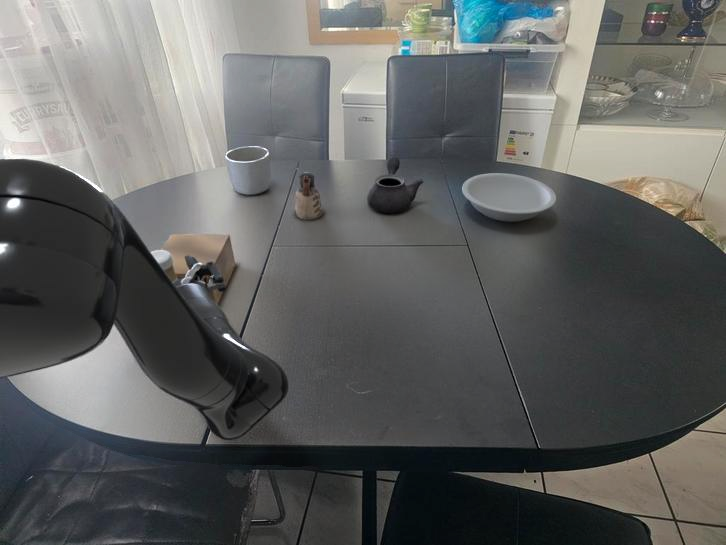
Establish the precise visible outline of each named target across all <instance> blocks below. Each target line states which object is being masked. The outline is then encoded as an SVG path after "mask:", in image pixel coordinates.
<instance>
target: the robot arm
mask: <svg viewBox="0 0 726 545" xmlns="http://www.w3.org/2000/svg"><path fill="white" fill-rule="evenodd" d="M151 252H152V251H150V249H149V248H148V246H147V245H146V244H145V242H144V241H143V240H142V238H141V237H140V235H139V233H138V232H137V231H136V229H135V227H134V226H133V225H132V224H131V222H130V221H129V219H128V218H127V216H126V215H125V214H124V213H123V211H122V210H121V209H120V207H119V206H118V205H117V204H116V202H115V201H113V199H112V198H111V197H109V195H108V194H107V193H106V192H105V191H104V190H102V189H101V188H100V187H98V186H97V185H96V184H94V183H93V182H92V181H90V180H88V178H85V177H84V176H82V175H80V174H79V173H77V172H74V171H73V170H70V169H69V168H68V169H67V168H66V167H63V166H61V165H57V164H54V163H50V162H46V161H43V160H39V159H38V160H37V159H30V158H20V157H19V158H0V379H5V378H9V377H14V376H19V375H23V374H27V373H33V372H36V371H40V370H45V369H48V368H52V367H56V366H60V365H63V364H66V363H68V362H72V361H73V360H76V359H79V358H81V357H83V356H85V355H88V354H90V353H91V352H93V351H94V350H96V349H97V348H99V347H100V346H101V345H102V344H103V343H104V342H105V341H106V339H107V338H108V337H109V336H110V333H111V331H112V330H113V326H114V327H115V329H116V330H117V332H118V333H119V336H120V337H121V339H122V340H123V342H124V343H125V346H126V347H127V349H128V350H129V352H130V353H131V355H132V357H133V358H134V360H135V362H136V363H137V365H138V366H139V368H140V370H142V372H143V373H144V375H145V376H146V377H147V378H148V379H149V380H150V381H151V383H152V384H153V385H155V386H156V387H157V388H158V389H159V390H161V391H162V392H164V393H165V394H167V395H169V396H171V397H172V398H174V399H176V400H178V401H181V402H184V403H185V404H187V405H189V406H191V407H193V408H194V409H196V410H197V412H198V413H199V415H200V417H201V419H202V420H203V423H204V424H205V426H206V427H207V428H208V429H209V431H210V432H211V433H212V434H213V435H214V436H215V437H217V438H219V439H222V440H224V441H233V440H238V439H239V438H242V437H243V436H245V435H246V434H247V433H249V432H250V431H251V430H252V429H253V428H255V427H256V426H257V425H258V424H259V423H260V422H261V421H262V420H263V419H264V418H266V417H267V415H269V414H270V413H271V412H272V411H273V410H274V409H276V407H278V406H279V405H280V404H281V403H282V402H283V401H284V400H285V399H286V397H287V395H288V392H289V380H288V377H287V374H286V372H285V370H284V369H283V368H282V367H281V365H280V364H278V363H277V362H276V361H275V360H274V359H272V358H271V357H270V356H267V354H265V353H262V352H261V351H258V350H257V349H255V348H254V347H252V346H250V345H249V344H248V343H247V342H245V341H244V340H243V339H242V337H240V335H239V334H238V332H237V331H236V330H235V329H234V328H233V326H232V325H231V323H230V321H229V319H228V316H227V315H226V313H225V311H224V310H223V309H222V307H221V306H220V305H219V303H218V304H217V302H216V301H215V300H214V298H213V297H212V296H211V294H210V293H209V292H210V291H213V290H215V289H217V290H218V291H219V292H223V291H224V292H225V291H226V288H225V284H224V279H223V276H222V274H221V273H220V271H219V270H218V268H217V267H216V265H215V264H214V262H212V261H209V262H207V263H206V264H205V265H201V263H199V262H198V261H197V259H196V258H195V257H190V256H189V255H187V256H185V260H186V264H187V266H188V268H189V269H190V270H189V271H188V273H187V275H186V276H185V278H184V279H183V278H180V279H177V280H175V281H173V282H172V281H171V279H170V278H169V277H168V275H167V274H166V273H165V271H164V270H163V269H162V267H161V266H160V264H159V263H158V262H157V260H156V259H155V258H154V256H153V255H152V254H151ZM206 275H209V277H210V279H209V283H208V284H206V283H205V282H202V280H203V278H204V276H206ZM224 292H223V293H224Z"/></svg>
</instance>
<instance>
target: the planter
mask: <svg viewBox="0 0 726 545" xmlns="http://www.w3.org/2000/svg"><path fill="white" fill-rule="evenodd" d="M224 159H225V164H226V168H227V172H228V177H229V181H230V184H231V187H232V189H234V191H235V192H237V193H238V194H241V195H244V196H245V195H246V196H252V195H259V194H262V193H264V192H265V191H267V190H268V189H269V188H270V186H271V183H272V170H271V160H270V151H269V150H268V149H266V148H264V147H262V146H241V147H236V148H233V149H231V150H229V151H227V152H226V153H225V155H224Z"/></svg>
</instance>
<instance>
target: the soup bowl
mask: <svg viewBox="0 0 726 545" xmlns="http://www.w3.org/2000/svg"><path fill="white" fill-rule="evenodd" d="M461 191H462V194H463V196H464V197H465V198H466V199H467V200H468V201H469V202H470V203H471V205H472V206H473V207H474V209H475V210H477V212H479V213H481V214H482V215H484V216H485V217H488V218H490V219H493V220H496V221H500V222H506V223H507V222H509V223H511V222H514V223H515V222H516V223H517V222H523V221H527V220H530V219H532V218H534V217H536V216H538V215H539V214H541V213H542V212H545V211H547V210H549V209H551V208H552V207H553V206H554V205H555V204H556V202H557V196H556V193H555V191H554V190H553V189H552V188H551V187H550V186H549V185H547V184H546V183H543V182H541V181H539V180H537V179H534V178H531V177H528V176H524V175H519V174H516V173H515V174H514V173H506V172H504V173H503V172H494V173H493V172H491V173H482V174H477V175H474V176H472V177H470V178H468V179H467V180H465V181H464V183H463V184H462V187H461Z"/></svg>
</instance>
